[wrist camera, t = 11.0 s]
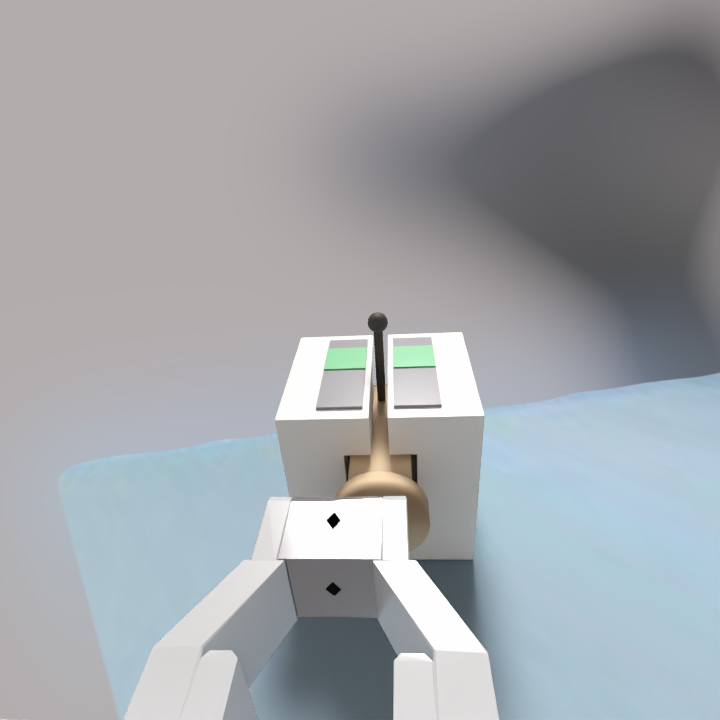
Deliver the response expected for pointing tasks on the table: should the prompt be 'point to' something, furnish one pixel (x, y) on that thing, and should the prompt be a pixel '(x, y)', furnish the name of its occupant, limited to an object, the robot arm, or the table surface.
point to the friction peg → (386, 456)
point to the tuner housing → (389, 425)
